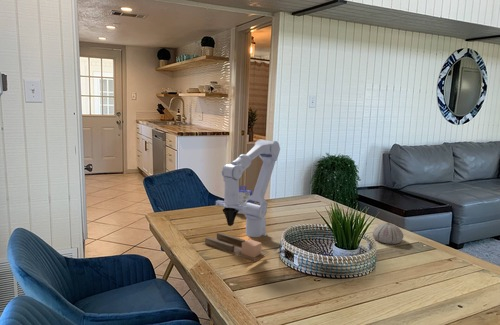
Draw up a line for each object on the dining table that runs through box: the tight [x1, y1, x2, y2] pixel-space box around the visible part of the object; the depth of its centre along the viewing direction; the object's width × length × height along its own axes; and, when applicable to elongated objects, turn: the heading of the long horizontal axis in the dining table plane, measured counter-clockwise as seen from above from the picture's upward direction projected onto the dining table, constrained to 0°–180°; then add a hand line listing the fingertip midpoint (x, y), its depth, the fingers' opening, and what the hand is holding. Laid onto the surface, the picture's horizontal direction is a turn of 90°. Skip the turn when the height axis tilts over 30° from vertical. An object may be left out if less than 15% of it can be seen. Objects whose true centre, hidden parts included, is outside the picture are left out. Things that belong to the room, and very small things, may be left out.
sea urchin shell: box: [372, 222, 404, 245], centre depth 176 cm, size 13×14×8 cm
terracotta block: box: [242, 238, 263, 257], centre depth 153 cm, size 5×6×4 cm
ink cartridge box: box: [237, 185, 253, 215], centre depth 208 cm, size 10×6×14 cm, turn 78°
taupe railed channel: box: [202, 231, 269, 264], centre depth 159 cm, size 14×26×4 cm, turn 55°
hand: (230, 225), depth 161 cm, fingers closed
